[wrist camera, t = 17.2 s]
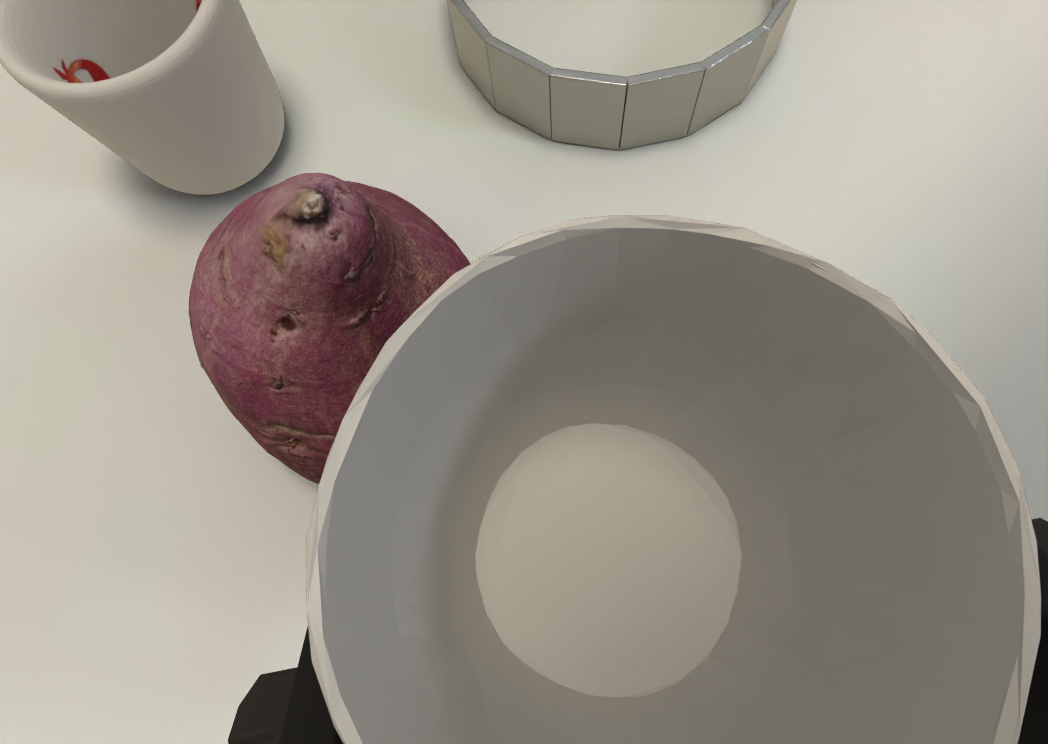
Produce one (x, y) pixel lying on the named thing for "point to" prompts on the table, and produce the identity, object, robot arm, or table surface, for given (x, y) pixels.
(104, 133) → the cup
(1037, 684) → the robot arm
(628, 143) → the ring
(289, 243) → the vegetable
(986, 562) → the mug
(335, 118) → the table surface
